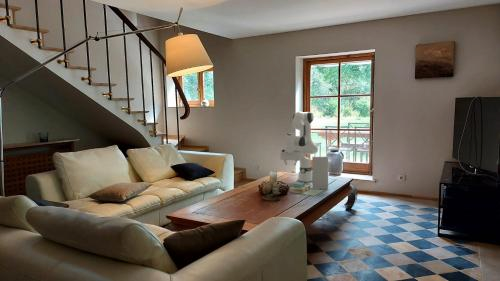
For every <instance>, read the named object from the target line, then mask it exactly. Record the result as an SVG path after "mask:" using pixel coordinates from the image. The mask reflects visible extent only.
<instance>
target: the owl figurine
mask: <svg viewBox="0 0 500 281" xmlns="http://www.w3.org/2000/svg"><path fill="white" fill-rule="evenodd" d="M278 185H279V184H278V183H277V182H274V181H273V180H272V179H270V180H267V182H265V184H264V185H263V187H262V192H263V193H264V195H263V196H262V198H261V199H262V200H263V201H267V202H279V201H280V200H281V198H280V197H279V195H280V194H281V191H280V189H279V186H278Z"/></svg>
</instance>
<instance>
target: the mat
mask: <svg viewBox="0 0 500 281" xmlns="http://www.w3.org/2000/svg"><path fill="white" fill-rule="evenodd" d="M323 192H325V189H313V188H310V190H308V191H306V192H304V193H302V195H304V196H305V195H306V196H312V197H315V196H317V195H319V194H321V193H323Z"/></svg>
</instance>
